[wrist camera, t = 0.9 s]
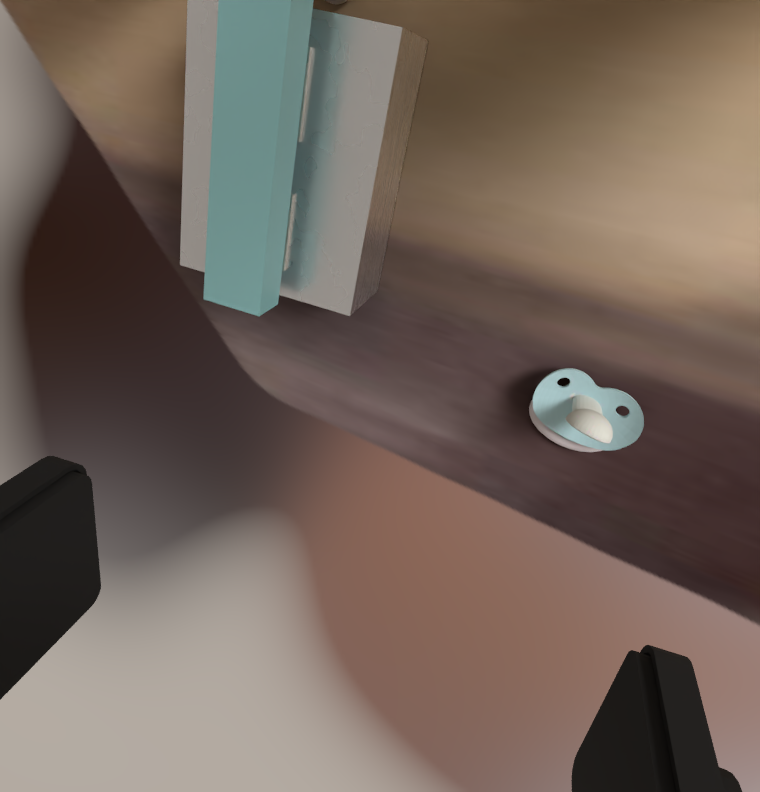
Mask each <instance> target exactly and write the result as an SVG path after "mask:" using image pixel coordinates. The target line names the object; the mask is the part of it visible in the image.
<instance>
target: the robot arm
mask: <svg viewBox="0 0 760 792" xmlns="http://www.w3.org/2000/svg"><path fill="white" fill-rule="evenodd" d="M94 514H95V513H94V502H93V491H92V482H91V479H90V477H89V476H87V474H86V470H85V468H84V467H83V466H82V465H79V464H77V463H73V462H70V461H67V460H64V459H60V458H58V457H54V456H47V457H45V458H43V459H41V460H39V461H38V462H36V463H35V464H33V465H32V466H30V467H28V468H27V469H25V470H24V471H23V472H21V473H19V474H18V475H16V476H14V477H13V478H11V479H10V480H8V481H7V482H5V483H3V484H2V485H0V699H1V698H2V697H3V696H4V695H5V694H6V693H7V692H8V691H9V690H10V689H11V688H12V687H13V686H14V685H15V684H16V683H17V682H18V681H19V680H20V679H21V678H22V677H23V676H24V675H25V674H26V673H27V672H28V671H29V670H30V669H31V668H32V667H33V666H34V665H35V663H36V662H37V661H38V660H39V659H40V658H41V657H42V656H43V655H44V654H45V653H46V652H47V651H48V650H49V649H50V648H51V647H52V646H53V645H54V644H55V643H56V642H57V641H58V640H59V639H60V638H61V637H62V636H63V635H64V634H65V633H66V632H67V631H68V630H69V629H70V628H71V627H72V626H73V625H74V624H75V622H77V620H78V619H79V618H80V617H81V616H82V615H83V614H84V613H85V612H86V611H87V610H88V609H89V608H90V607H91V606H92V605H93V604H94V602H95V601H96V599H97V597H98V595H99V592H100V589H101V582H100V570H99V558H98V547H97V536H96V524H95V515H94ZM572 792H742V790H741V788H740V785H739V782H738V781H737V779H736V778H735V777H734V776H733V774H732V773H731V772H729V771H727V770H725V769H722V768H719V767H718V763H717V759H716V755H715V751H714V747H713V743H712V739H711V735H710V731H709V728H708V724H707V720H706V716H705V712H704V708H703V704H702V700H701V696H700V692H699V688H698V685H697V681H696V677H695V673H694V669H693V666H692V663H691V661H690V660H689V659H688V658H687V657H685V656H682V655H679V654H675V653H672V652H669V651H666V650H663V649H660V648H656V647H653V646H650V645H646V646H645V647H643V649H642V650H641V652H640V653H639V652H636V651H633V650H631V651H629V652H628V654H627V656H626V658H625V660H624V662H623V664H622V666H621V667H620V669H619V671H618V673H617V675H616V677H615V679H614V681H613V683H612V685H611V687H610V689H609V691H608V693H607V695H606V697H605V699H604V701H603V703H602V705H601V707H600V709H599V711H598V713H597V715H596V717H595V719H594V721H593V723H592V725H591V727H590V729H589V731H588V733H587V735H586V737H585V739H584V741H583V743H582V745H581V747H580V748H579V750H578V752H577V755H576V757H575V760H574V765H573V770H572Z"/></svg>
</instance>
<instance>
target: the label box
mask: <svg viewBox="0 0 760 792" xmlns="http://www.w3.org/2000/svg"><path fill="white" fill-rule="evenodd" d="M218 1H219V0H188V2H187V37H186V71H185V106H184V140H183V175H182V209H181V244H180V265H182V266H185V267H188V268H192V269H195V270H198V271H202V272H205V258H206V238H207V219H208V199H209V179H210V159H211V140H212V120H213V100H214V80H215V61H216V41H217V21H218ZM427 45H428V40H426V39H424V38H422V37H420V36H418V35H416V34H414V33H412V32H411V31H409V30H407V29H405V28H403V27H399V26H394V25H390V24H385V23H380V22H375V21H371V20H366V19H361V18H356V17H352V16H347V15H342V14H337V13H333V12H328V11H323V10H318V9H314V8H313V10H312V18H311V27H310V35H309V44H308V52H307V61H306V69H305V78H304V87H303V95H302V104H301V112H300V121H299V129H298V138H297V146H296V155H295V163H294V172H293V181H292V189H291V198H290V206H289V215H288V223H287V232H286V240H285V249H284V258H283V266H282V275H281V283H280V292H279V295H281V296H285V297H288V298H291V299H295V300H298V301H301V302H305V303H308V304H311V305H315V306H318V307H321V308H324V309H328V310H331V311H334V312H338V313H341V314H344V315H348V316H351V315H352V314H353V313H354V312H355V311H356V310H357V309H358V308H359V307H361V306H362V305H363V304H364V303H365V302H366V301H367V300H368V299H369V298H370V297H372V296H373V295H374V294H375V293H376V292H377V291H378V286H379V282H380V277H381V272H382V267H383V262H384V257H385V252H386V247H387V242H388V237H389V232H390V227H391V222H392V217H393V212H394V208H395V203H396V198H397V193H398V188H399V183H400V178H401V173H402V168H403V163H404V158H405V153H406V148H407V143H408V139H409V134H410V129H411V124H412V119H413V114H414V109H415V104H416V99H417V94H418V89H419V84H420V79H421V74H422V70H423V65H424V60H425V55H426V50H427Z"/></svg>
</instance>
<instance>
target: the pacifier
mask: <svg viewBox="0 0 760 792" xmlns="http://www.w3.org/2000/svg"><path fill="white" fill-rule="evenodd" d="M561 378H568V379H569V380H570V383H569V384H568V385H566V386H560V385H558V384H557V381H558V380H559V379H561ZM618 406H626V407H627V408H628V409H629V411H630V412H629V414H628V415H626V416H621V415H619V414H618V413H617V412H616V408H617V407H618ZM529 414H530V417H531V419H532V422H533V424H534V425H535V426H536V427H537V429H538V430H539V431H540V432H541V433H542V434H543V435H545V436H546V437H547V438H548V439H550V440H551V441H553V442H555V443H556V444H558V445H561V446H563V447H566V448H568V449H572V450H576V451H580V452H596V451H602V450H617V449H621V448H623V447H626V446H628V445H630V444H632V443H633V442H635V441H636V440H637V439H638V437H639V436H640V434H641V432H642V430H643V426H644V417H643V413H642V410H641V408H640V406H639V405H638V403H637V402H636V401H635V400H634V399H633V398H632V397H631V396H630V395H628V394H627V393H625V392H623V391H620V390H618V389H613V388H601V387H598V386H597V385H595V383H594V381H593V380H592V379H591V378H590V377H589V376H588V375H587V374H586V373H584V372H583V371H580V370H578V369H573V368H564V369H559V370H556V371H554V372H552V373H550V374H548V375H547V376H546V377H545V378H543V379H542V380H541V382H540V383H539V384H538V386H537V387H536V389H535V392H534V395H533V399H532V400H531V403H530V406H529Z"/></svg>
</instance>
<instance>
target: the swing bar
mask: <svg viewBox="0 0 760 792" xmlns="http://www.w3.org/2000/svg"><path fill="white" fill-rule="evenodd" d="M313 1H314V0H219V1H218V21H217V41H216V61H215V80H214V100H213V120H212V140H211V159H210V179H209V199H208V219H207V238H206V258H205V278H204V298H203V299H204V300H208V301H211V302H214V303H217V304H221V305H224V306H227V307H230V308H233V309H237V310H240V311H243V312H246V313H250V314H253V315H256V316H261V315H262V314H264V313H265V312H267V311H268V310H270V309H271V308H273V307H275V306H276V305H278V300H279V292H280V283H281V275H282V266H283V258H284V249H285V240H286V232H287V223H288V215H289V206H290V198H291V189H292V181H293V172H294V163H295V155H296V146H297V138H298V129H299V121H300V112H301V104H302V95H303V87H304V78H305V69H306V61H307V52H308V44H309V35H310V27H311V18H312V10H313ZM325 1H327V2H329V3H331V4H342V3H344V2H346V1H347V0H325Z"/></svg>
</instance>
